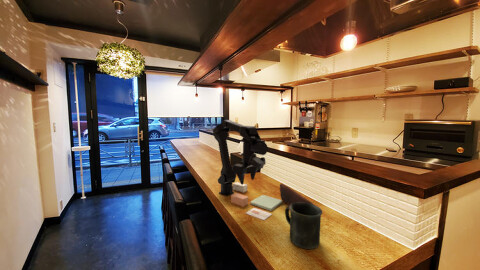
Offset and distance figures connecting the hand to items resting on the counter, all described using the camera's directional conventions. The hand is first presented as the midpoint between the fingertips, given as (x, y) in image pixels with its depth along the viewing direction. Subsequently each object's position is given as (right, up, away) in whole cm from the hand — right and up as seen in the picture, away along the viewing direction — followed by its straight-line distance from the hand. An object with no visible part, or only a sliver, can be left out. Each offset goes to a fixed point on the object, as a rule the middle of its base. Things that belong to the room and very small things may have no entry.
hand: (247, 181), depth 101 cm
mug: (+18, -14, -28) cm, 36 cm away
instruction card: (+5, -12, -10) cm, 16 cm away
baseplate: (+10, -11, +2) cm, 15 cm away
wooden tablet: (+23, -13, -6) cm, 27 cm away
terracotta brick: (-4, -12, +2) cm, 12 cm away
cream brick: (-4, -10, +20) cm, 23 cm away
